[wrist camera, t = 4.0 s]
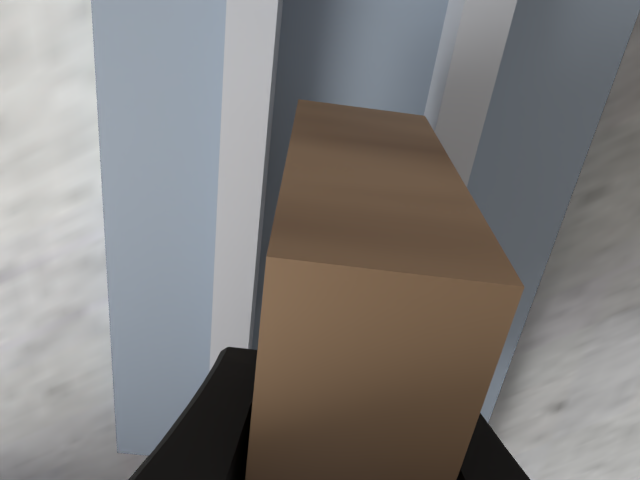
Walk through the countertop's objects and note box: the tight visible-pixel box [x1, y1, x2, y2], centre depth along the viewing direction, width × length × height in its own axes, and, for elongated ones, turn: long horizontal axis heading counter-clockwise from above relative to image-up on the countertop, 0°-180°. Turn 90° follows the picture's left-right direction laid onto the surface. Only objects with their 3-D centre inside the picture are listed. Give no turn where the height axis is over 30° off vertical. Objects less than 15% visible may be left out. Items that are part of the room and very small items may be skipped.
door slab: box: [245, 99, 524, 480], centre depth 10 cm, size 9×2×6 cm, turn 173°
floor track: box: [91, 0, 640, 456], centre depth 14 cm, size 18×12×4 cm, turn 173°
